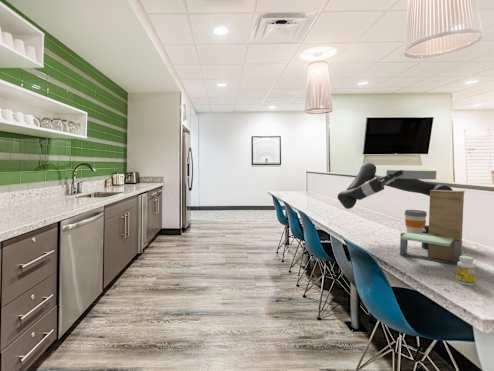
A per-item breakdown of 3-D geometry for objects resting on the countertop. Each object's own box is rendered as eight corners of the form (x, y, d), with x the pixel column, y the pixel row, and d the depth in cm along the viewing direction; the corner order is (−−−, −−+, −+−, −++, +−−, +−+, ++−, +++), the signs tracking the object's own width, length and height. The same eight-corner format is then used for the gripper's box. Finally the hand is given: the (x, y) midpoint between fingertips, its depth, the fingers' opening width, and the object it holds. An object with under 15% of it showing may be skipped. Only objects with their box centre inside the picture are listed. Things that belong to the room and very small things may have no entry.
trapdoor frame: (401, 253, 141) (402, 232, 141) (461, 264, 125) (462, 240, 124) (399, 254, 139) (400, 233, 138) (460, 265, 123) (461, 242, 122)
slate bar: (388, 177, 149) (389, 170, 148) (436, 179, 134) (436, 170, 134) (386, 177, 146) (386, 170, 145) (434, 179, 131) (434, 170, 131)
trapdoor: (408, 233, 138) (408, 231, 138) (454, 239, 126) (454, 237, 126) (400, 239, 128) (400, 236, 128) (449, 246, 115) (449, 243, 115)
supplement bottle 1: (436, 247, 152) (436, 225, 152) (437, 250, 147) (437, 227, 146) (421, 245, 156) (421, 224, 155) (421, 248, 150) (422, 226, 149)
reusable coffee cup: (426, 233, 188) (426, 210, 188) (426, 236, 178) (426, 213, 177) (404, 230, 195) (405, 209, 194) (403, 234, 184) (404, 211, 184)
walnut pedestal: (430, 253, 141) (432, 189, 139) (461, 259, 132) (464, 191, 131) (427, 257, 134) (429, 190, 133) (459, 263, 126) (462, 192, 124)
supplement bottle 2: (478, 285, 102) (479, 259, 101) (463, 285, 102) (464, 259, 101) (467, 280, 107) (468, 255, 106) (452, 280, 107) (453, 255, 106)
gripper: (380, 192, 157) (411, 177, 146) (370, 193, 146) (403, 178, 136) (373, 180, 159) (403, 165, 148) (364, 181, 148) (395, 164, 138)
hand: (403, 171), depth 142 cm, fingers closed on slate bar, 4 cm apart
